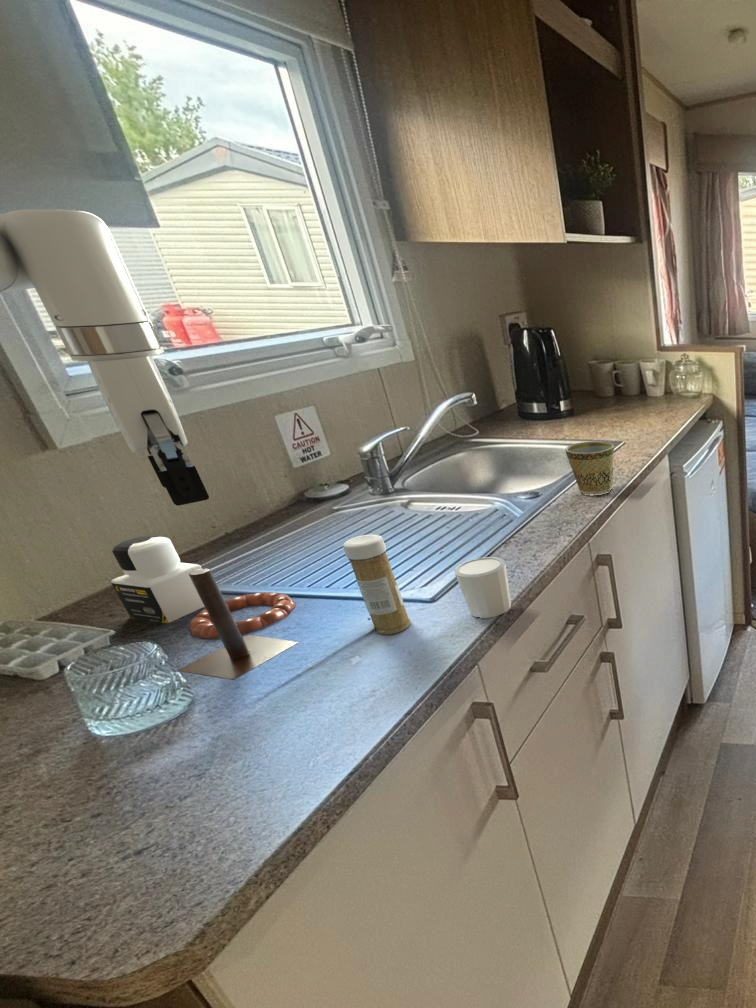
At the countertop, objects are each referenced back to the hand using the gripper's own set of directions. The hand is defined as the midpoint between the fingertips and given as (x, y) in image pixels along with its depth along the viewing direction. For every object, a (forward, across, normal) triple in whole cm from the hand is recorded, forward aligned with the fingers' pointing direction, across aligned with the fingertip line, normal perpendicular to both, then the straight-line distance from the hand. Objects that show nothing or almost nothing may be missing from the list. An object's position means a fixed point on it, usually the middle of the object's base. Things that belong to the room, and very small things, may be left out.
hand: (186, 493), depth 79 cm
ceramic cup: (+22, -23, +67) cm, 74 cm away
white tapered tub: (+22, +14, +26) cm, 37 cm away
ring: (+20, -8, 0) cm, 22 cm away
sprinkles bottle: (+22, +9, +14) cm, 27 cm away
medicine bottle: (+21, -18, -6) cm, 29 cm away
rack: (+21, +5, -2) cm, 22 cm away
